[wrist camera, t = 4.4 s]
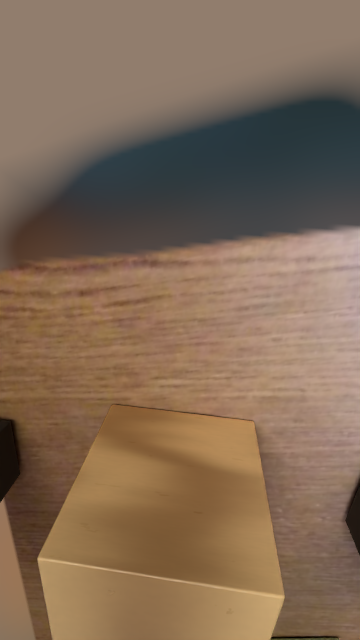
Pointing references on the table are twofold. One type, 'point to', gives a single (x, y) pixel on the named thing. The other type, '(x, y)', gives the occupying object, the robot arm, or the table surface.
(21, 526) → the table surface
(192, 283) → the table surface
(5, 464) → the robot arm
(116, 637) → the beech block
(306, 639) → the sage block
